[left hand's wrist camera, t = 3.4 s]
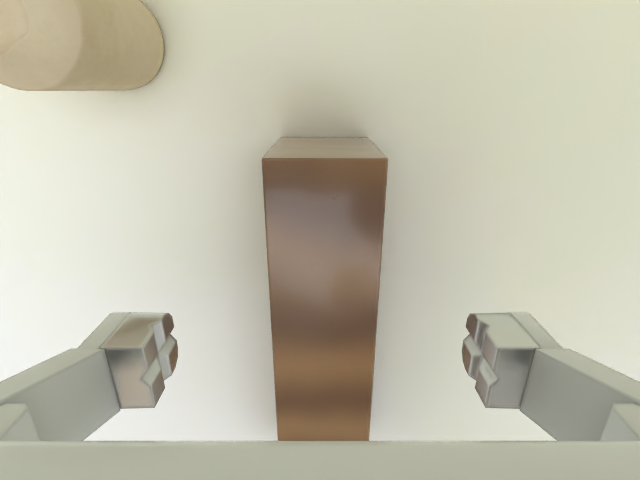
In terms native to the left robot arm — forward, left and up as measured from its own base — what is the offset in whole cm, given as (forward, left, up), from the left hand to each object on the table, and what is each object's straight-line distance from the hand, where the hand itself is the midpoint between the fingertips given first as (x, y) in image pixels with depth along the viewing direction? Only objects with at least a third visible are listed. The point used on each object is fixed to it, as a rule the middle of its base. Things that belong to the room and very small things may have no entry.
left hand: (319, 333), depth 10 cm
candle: (-5, -14, -17) cm, 23 cm away
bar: (+10, +3, -17) cm, 20 cm away
